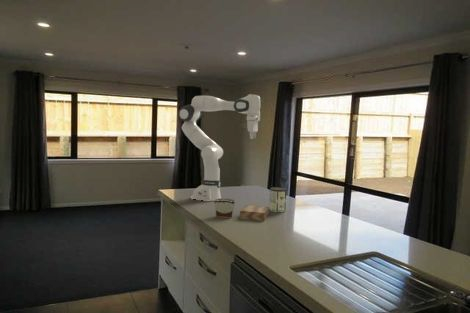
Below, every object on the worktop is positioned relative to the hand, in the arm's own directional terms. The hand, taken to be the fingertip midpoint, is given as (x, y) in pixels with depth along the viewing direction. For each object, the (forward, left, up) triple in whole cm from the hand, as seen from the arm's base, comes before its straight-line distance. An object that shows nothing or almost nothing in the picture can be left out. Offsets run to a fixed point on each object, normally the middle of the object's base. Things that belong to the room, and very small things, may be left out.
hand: (252, 138), depth 234 cm
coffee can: (+20, -13, -45) cm, 51 cm away
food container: (-8, -39, -45) cm, 60 cm away
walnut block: (+9, -34, -45) cm, 57 cm away
